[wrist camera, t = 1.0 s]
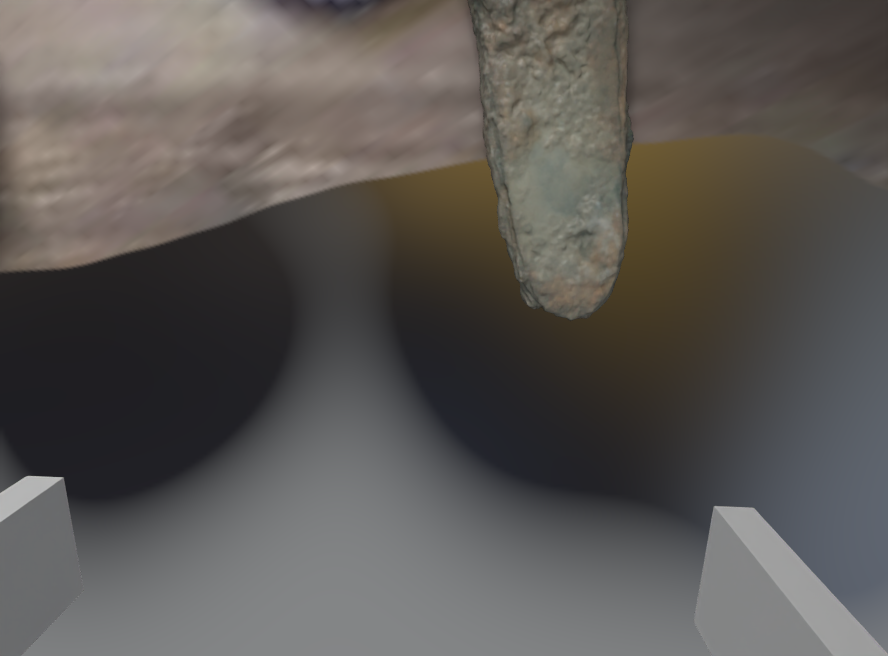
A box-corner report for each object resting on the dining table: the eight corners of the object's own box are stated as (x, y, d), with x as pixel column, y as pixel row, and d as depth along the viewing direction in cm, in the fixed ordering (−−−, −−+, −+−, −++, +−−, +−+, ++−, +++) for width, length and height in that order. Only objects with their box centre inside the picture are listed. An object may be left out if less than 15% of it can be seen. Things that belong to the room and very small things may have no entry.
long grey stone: (492, 318, 37) (629, 297, 37) (502, 341, 32) (661, 316, 32) (407, -312, 27) (594, -346, 27) (401, -422, 22) (632, -466, 22)
